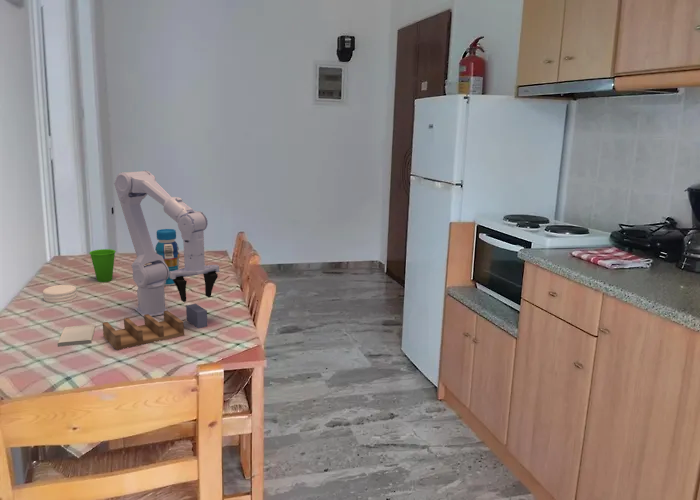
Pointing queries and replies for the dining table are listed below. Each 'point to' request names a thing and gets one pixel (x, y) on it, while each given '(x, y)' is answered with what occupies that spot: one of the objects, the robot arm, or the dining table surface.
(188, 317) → the tall slate-grey prism
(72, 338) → the hard drive
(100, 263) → the cup
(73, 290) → the coaster
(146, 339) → the rack
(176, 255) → the beverage bottle
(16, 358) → the dining table surface
